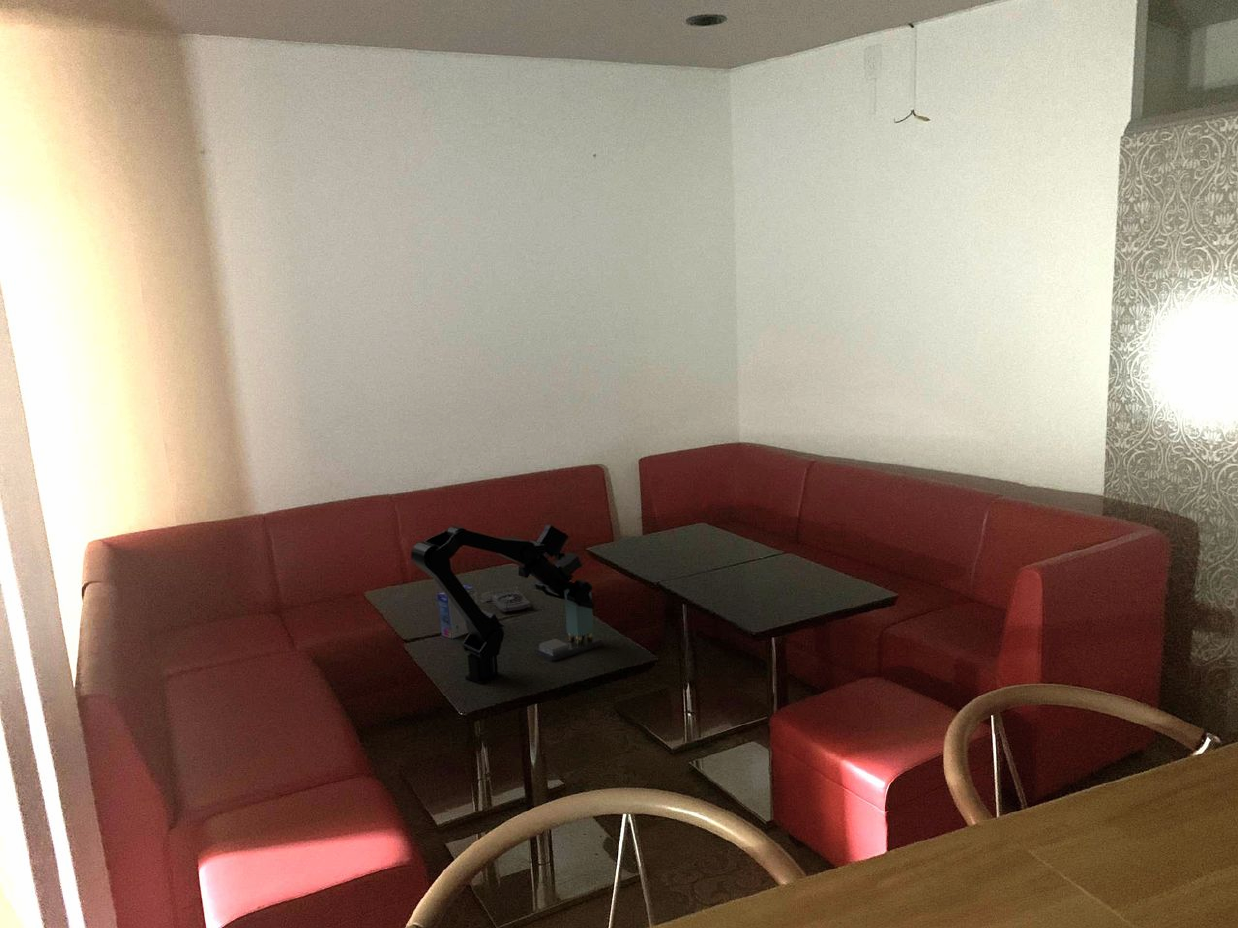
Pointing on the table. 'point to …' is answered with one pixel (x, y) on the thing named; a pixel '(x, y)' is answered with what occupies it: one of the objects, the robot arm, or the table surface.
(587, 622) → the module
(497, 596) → the graphics card
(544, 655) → the chassis
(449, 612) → the ink cartridge box
